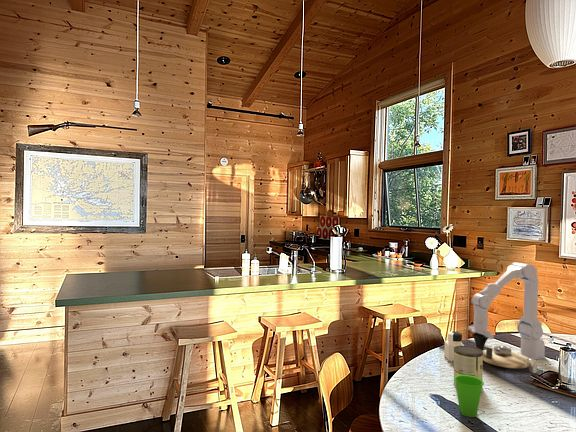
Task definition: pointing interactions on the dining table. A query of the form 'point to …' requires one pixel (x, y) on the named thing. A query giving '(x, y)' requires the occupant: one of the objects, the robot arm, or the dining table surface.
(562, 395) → the dining table surface
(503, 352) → the cover
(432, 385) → the dining table surface
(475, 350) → the coffee can
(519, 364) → the platter
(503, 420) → the dining table surface
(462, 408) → the cup
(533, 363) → the silver knobbed piece
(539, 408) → the dining table surface
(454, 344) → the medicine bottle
